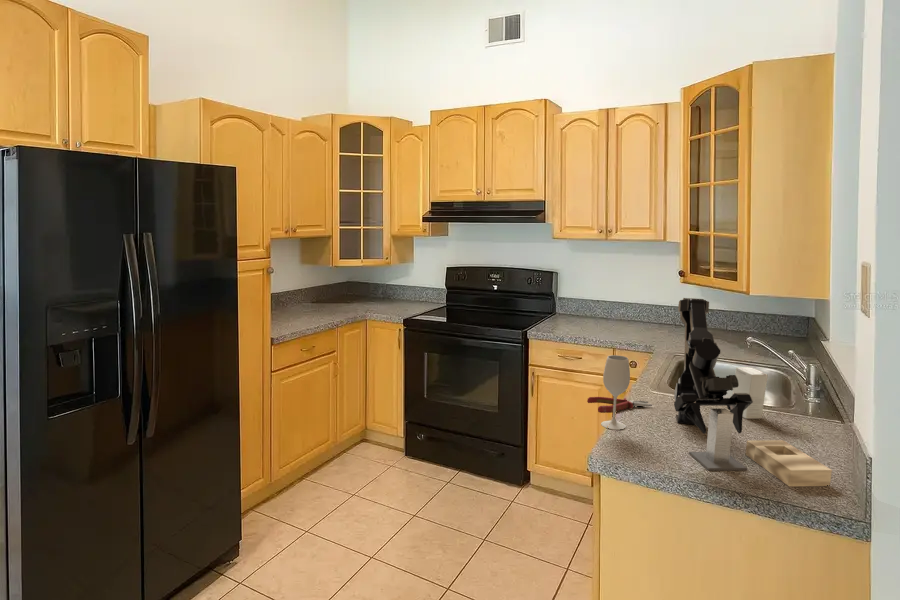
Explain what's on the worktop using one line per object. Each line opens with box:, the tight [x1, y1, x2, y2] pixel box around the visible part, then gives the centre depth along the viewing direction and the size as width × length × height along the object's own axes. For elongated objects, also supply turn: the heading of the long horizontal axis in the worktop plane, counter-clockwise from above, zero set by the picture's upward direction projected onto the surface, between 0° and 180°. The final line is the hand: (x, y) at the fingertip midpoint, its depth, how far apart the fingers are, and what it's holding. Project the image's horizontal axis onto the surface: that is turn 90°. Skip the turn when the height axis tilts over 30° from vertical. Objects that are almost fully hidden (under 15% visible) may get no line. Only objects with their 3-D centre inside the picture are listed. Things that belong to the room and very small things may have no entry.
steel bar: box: [705, 408, 734, 463], centre depth 146 cm, size 4×4×13 cm
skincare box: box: [731, 366, 769, 420], centre depth 183 cm, size 8×6×15 cm
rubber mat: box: [688, 451, 748, 471], centre depth 147 cm, size 10×10×1 cm
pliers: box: [586, 396, 653, 414], centre depth 189 cm, size 12×20×3 cm, turn 98°
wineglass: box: [600, 354, 631, 431], centre depth 170 cm, size 8×8×21 cm
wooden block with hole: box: [745, 439, 833, 487], centre depth 143 cm, size 18×10×4 cm, turn 3°
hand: (722, 432), depth 145 cm, fingers open, 9 cm apart
